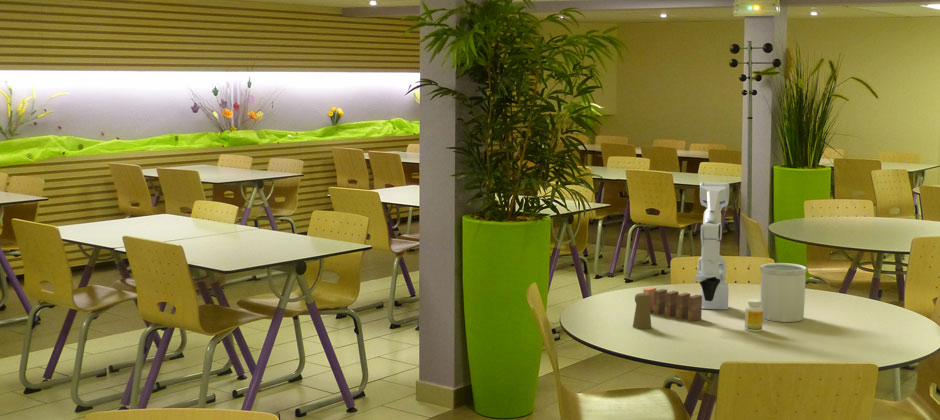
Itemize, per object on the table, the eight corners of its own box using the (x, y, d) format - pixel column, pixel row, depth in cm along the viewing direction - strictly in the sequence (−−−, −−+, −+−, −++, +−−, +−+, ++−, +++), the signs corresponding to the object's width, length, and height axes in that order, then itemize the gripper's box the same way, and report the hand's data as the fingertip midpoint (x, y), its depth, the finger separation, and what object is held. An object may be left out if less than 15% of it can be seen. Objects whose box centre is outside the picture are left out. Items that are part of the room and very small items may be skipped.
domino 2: (666, 312, 339) (667, 289, 338) (658, 314, 335) (659, 291, 334) (661, 311, 340) (662, 288, 339) (653, 314, 337) (654, 290, 336)
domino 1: (655, 310, 342) (656, 287, 341) (647, 313, 338) (648, 290, 337) (650, 309, 343) (651, 287, 342) (642, 312, 339) (643, 289, 338)
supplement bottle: (741, 328, 317) (742, 299, 315) (755, 327, 318) (756, 298, 317) (751, 332, 311) (752, 302, 310) (765, 331, 313) (767, 301, 312)
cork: (652, 325, 320) (653, 292, 319) (650, 330, 314) (651, 296, 313) (634, 324, 322) (635, 291, 321) (631, 328, 316) (631, 294, 315)
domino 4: (689, 316, 333) (690, 293, 332) (681, 319, 329) (682, 295, 328) (684, 315, 334) (685, 292, 333) (676, 318, 330) (677, 294, 329)
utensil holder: (750, 317, 331) (752, 266, 329) (770, 310, 342) (772, 260, 340) (792, 325, 321) (794, 272, 319) (811, 317, 332) (814, 266, 330)
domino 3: (677, 314, 336) (678, 291, 335) (669, 317, 332) (670, 293, 331) (672, 313, 337) (673, 290, 336) (664, 316, 333) (665, 292, 332)
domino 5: (701, 319, 329) (702, 295, 328) (693, 321, 326) (694, 297, 325) (696, 318, 331) (696, 294, 330) (688, 320, 327) (688, 296, 326)
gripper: (711, 255, 330) (710, 295, 332) (687, 260, 320) (685, 301, 322) (730, 258, 325) (728, 298, 327) (706, 263, 315) (704, 305, 317)
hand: (708, 300), depth 324 cm, fingers closed
